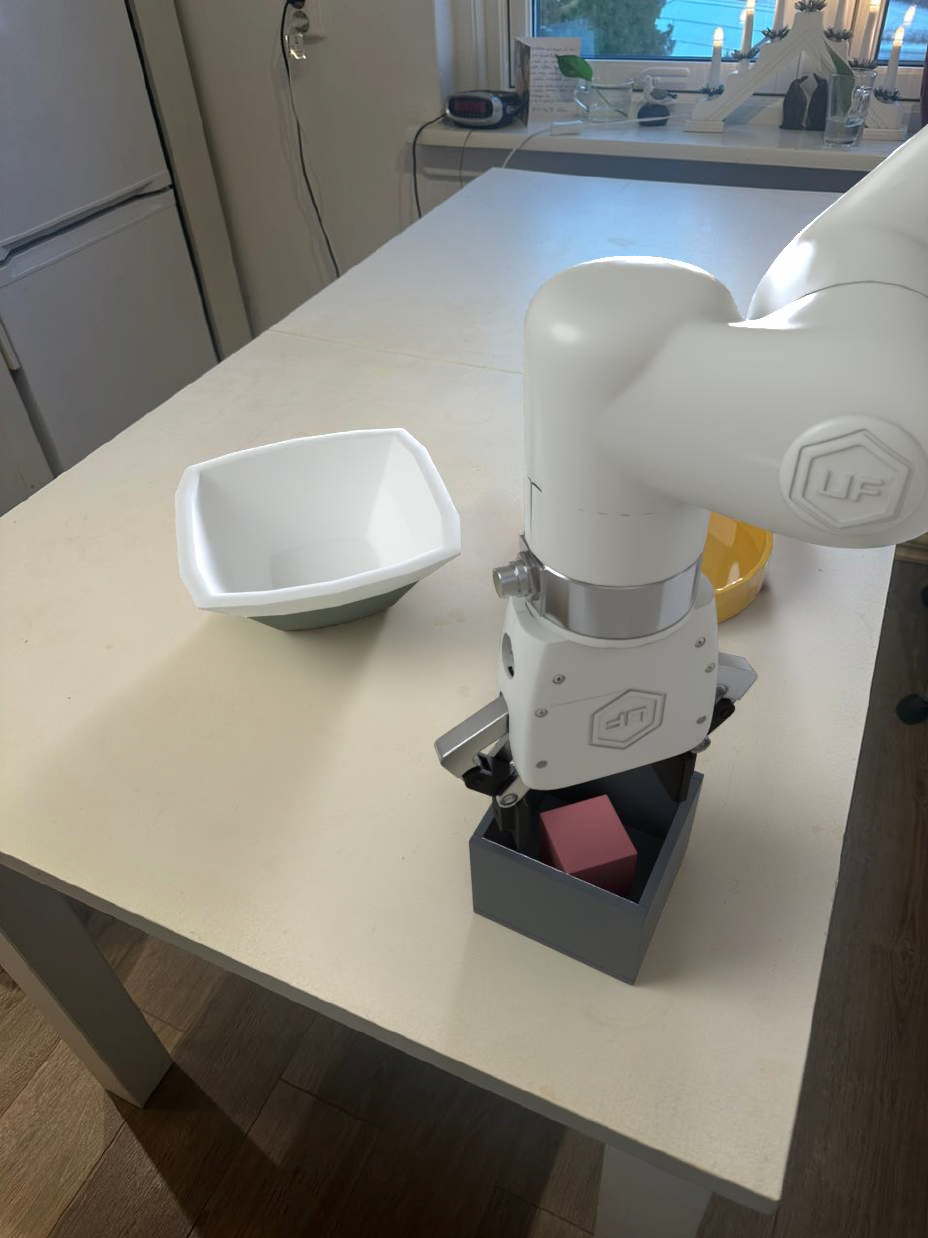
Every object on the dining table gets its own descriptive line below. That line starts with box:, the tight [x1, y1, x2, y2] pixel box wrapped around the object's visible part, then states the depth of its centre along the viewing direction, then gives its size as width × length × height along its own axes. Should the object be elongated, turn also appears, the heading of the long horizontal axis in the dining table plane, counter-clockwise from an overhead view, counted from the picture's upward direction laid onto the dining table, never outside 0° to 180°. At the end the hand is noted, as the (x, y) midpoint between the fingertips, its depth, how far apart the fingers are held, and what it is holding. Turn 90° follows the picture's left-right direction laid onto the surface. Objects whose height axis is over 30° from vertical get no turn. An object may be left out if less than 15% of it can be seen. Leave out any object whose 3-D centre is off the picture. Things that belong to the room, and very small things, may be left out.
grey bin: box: [468, 763, 705, 987], centre depth 52 cm, size 10×10×8 cm
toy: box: [539, 795, 637, 897], centre depth 53 cm, size 4×4×4 cm
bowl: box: [174, 427, 462, 631], centre depth 74 cm, size 22×23×8 cm
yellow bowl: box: [701, 511, 774, 625], centre depth 77 cm, size 20×20×4 cm
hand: (592, 804), depth 49 cm, fingers open, 8 cm apart
